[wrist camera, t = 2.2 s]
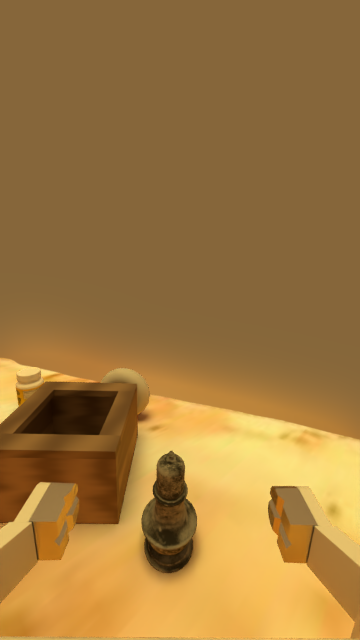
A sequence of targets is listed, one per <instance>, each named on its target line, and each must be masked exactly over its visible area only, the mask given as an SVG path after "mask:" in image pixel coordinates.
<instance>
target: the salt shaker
mask: <svg viewBox="0 0 360 640" xmlns="http://www.w3.org/2000/svg"><path fill="white" fill-rule="evenodd" d="M184 475H185V465H184V461H183V460H182V458H181V457H179V456H178V455H176V454H174V453H173V451H170V452H169V453H168V454H165V455H163V456H162V457H161V458H160V459H159V461H158V463H157V480H156V481H155V483H154V485H153V495H154V497H155V498H153V499H152V500H151V501H150V502H149V503H148V504H147V506H146V507H145V509H144V511H143V515H142V529H143V532H144V535H145V537H146V538H145V544H144V545H145V554H146V557H147V559H148V561H149V563H150V564H151V565H152V566H153V567H154V568H155V569H156V570H158V571H161V572H164V573H172V572H176V571H178V570H180V569H181V568H183V567H184V566H185V565H186V564H187V562H188V561H189V559H190V557H191V554H192V550H193V540H192V537H193V535H194V533H195V530H196V527H197V516H196V512H195V509H194V507H193V506H192V504H191V503H190V502H189V501H188V500H187V499H186V496H187V492H188V488H187V484H186V483H185V481H184Z"/></svg>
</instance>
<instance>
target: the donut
mask: <svg viewBox="0 0 360 640" xmlns="http://www.w3.org/2000/svg"><path fill="white" fill-rule="evenodd" d="M101 383H130V384H137V415H139V414H140V413H141V412H142V411H144V409H145V408H146V406H147V404H148V402H149V397H150V392H149V387H148V385H147V383H146V381H145V379H144V378H143V377H142V376H141V375H140V374H139V373H137V372H135V371H134V370H131V369H126V368H118V369H115V370H113V371H110V372H109V373H108V374H107V375H106V376H104V378H103V380H102V382H101Z"/></svg>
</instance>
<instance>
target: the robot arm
mask: <svg viewBox="0 0 360 640" xmlns="http://www.w3.org/2000/svg"><path fill="white" fill-rule="evenodd" d="M77 492H78V485H77V484H76V483H54V482H52V483H49V482H40V483H39V484H37V485H36V487H35V488H34V490H33V492H32V493H31V495H30V496H29V498H28V499H27V501H26V503H25V504H24V506H23V507H22V509H21V511H20V512H19V514H18V515H17V517H16V519H15V520H14V522H9V523H8V524H6V525H5V526H4V527H2V528H1V529H0V603H1V602H2V601H3V600H4V599H5V598H6V597H7V595H8V594H9V593H10V592H11V591H12V590H13V589H14V588H15V587H16V586H17V584H18V583H19V582H20V581H21V580H22V579H23V578H24V577H25V576H26V574H27V573H28V572H29V571H30V570H31V569H32V568H33V567H34V566H35V565H36V563H37V562H38V561H39V560H61V559H62V556H63V554H64V551H65V549H66V546H67V544H68V541H69V535H68V533H69V532H70V531H71V530H72V529H73V528H74V526H75V523H76V520H77V516H78V512H79V499H78V498H77V497H76V495H77ZM270 495H271V497H272V499H271V500H270V501H269V505H268V513H269V520H270V524H271V527H272V529H273V531H274V532H275V533H276V534H277V535H278V540H277V544H278V547H279V549H280V552H281V555H282V558H283V561H284V562H287V563H307V566H308V567H309V568H310V569H311V570H312V572H313V573H314V574H315V575H316V576H317V578H318V579H319V580H320V581H321V582H322V584H323V585H324V586H325V587H326V588H327V589H328V591H329V592H330V593H331V594H332V595H333V597H334V598H335V599H336V600H337V601H338V603H339V604H340V605H341V606H342V607H343V608H344V610H345V611H346V612H347V613H348V614H349V616H350V617H351V618H352V619H353V620H354V621H355V624H354V627H353V631H352V634H351V638H350V639H306V638H159V637H0V640H360V545H358V544H357V543H356V542H355V541H354V540H352V539H351V538H350V537H349V536H347V535H346V534H345V533H344V532H343V531H341V530H340V529H339V528H338V527H336V526H332V524H331V523H330V521H329V519H328V518H327V516H326V514H325V513H324V511H323V509H322V507H321V506H320V504H319V502H318V501H317V499H316V497H315V496H314V494H313V492H312V490H311V489H310V488H309V487H307V486H296V487H295V486H272V487H271V491H270Z"/></svg>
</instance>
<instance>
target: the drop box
mask: <svg viewBox="0 0 360 640" xmlns="http://www.w3.org/2000/svg"><path fill="white" fill-rule="evenodd" d="M137 436H138V423H137V384H130V383H85V382H45V383H44V384H43V385H42V386H41V387H40V388H39V389H38V390H36V391H35V392H34V393H33V394H32V395H31V396H30V397H29V398H28V399H27V400H26V401H25V402H24V403H23V404H21V405H20V406H19V407H18V408H17V409H16V410H15V411H14V412H13V413H12V414H11V415H10V416H9V417H8V418H7V419H5V420H4V421H3V422H2V423H1V424H0V522H1V523H9V522H14V520H15V519H16V517H17V515H18V514H19V512H20V511H21V509H22V507H23V506H24V504H25V503H26V501H27V499H28V498H29V496H30V495H31V493H32V492H33V490H34V488H35V487H36V485H37V484H39V483H40V482H49V483H52V482H54V483H76V484H77V485H78V492H77V495H76V497H77V498H78V499H79V512H78V516H77V520H76V523H92V524H118V522H119V517H120V513H121V508H122V504H123V499H124V495H125V490H126V486H127V481H128V477H129V472H130V468H131V463H132V459H133V454H134V450H135V445H136V441H137Z"/></svg>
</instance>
